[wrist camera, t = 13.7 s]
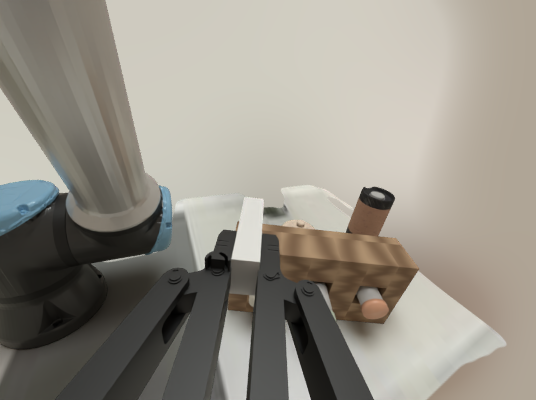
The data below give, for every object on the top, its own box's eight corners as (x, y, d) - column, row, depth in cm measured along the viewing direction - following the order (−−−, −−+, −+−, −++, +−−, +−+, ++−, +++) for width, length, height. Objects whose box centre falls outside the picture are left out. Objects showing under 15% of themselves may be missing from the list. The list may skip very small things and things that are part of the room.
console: (228, 309, 44) (231, 249, 36) (233, 277, 51) (237, 221, 43) (383, 323, 46) (419, 268, 38) (368, 290, 53) (396, 238, 45)
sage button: (306, 329, 37) (312, 313, 34) (301, 293, 43) (306, 277, 41) (332, 331, 37) (339, 315, 35) (323, 295, 43) (329, 279, 41)
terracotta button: (359, 318, 40) (367, 302, 37) (347, 285, 46) (354, 270, 43) (383, 320, 40) (392, 305, 38) (368, 287, 46) (376, 272, 44)
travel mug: (364, 269, 58) (394, 205, 49) (336, 256, 61) (359, 193, 52) (368, 252, 64) (396, 192, 55) (342, 242, 67) (364, 183, 58)
